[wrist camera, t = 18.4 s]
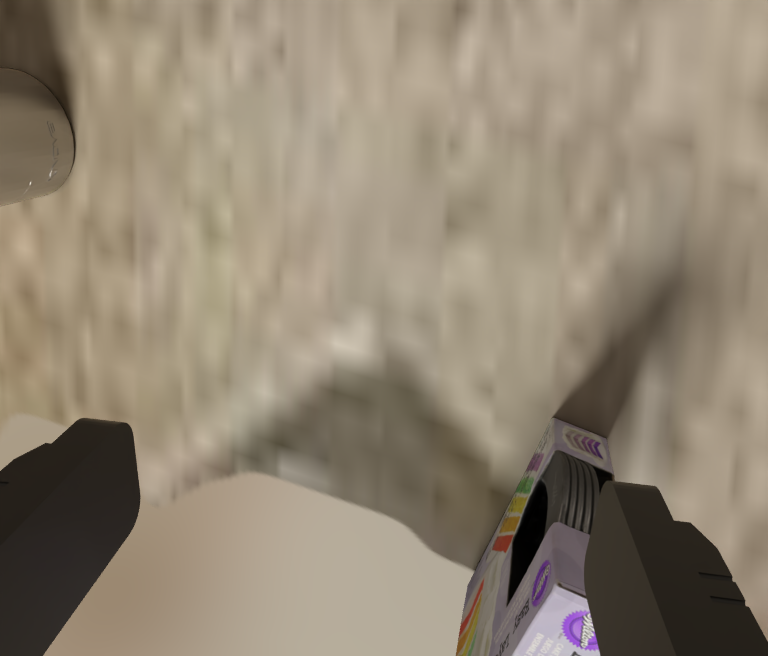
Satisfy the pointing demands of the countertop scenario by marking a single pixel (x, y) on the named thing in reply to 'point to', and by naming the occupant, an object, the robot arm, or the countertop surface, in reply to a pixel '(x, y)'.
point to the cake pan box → (540, 556)
